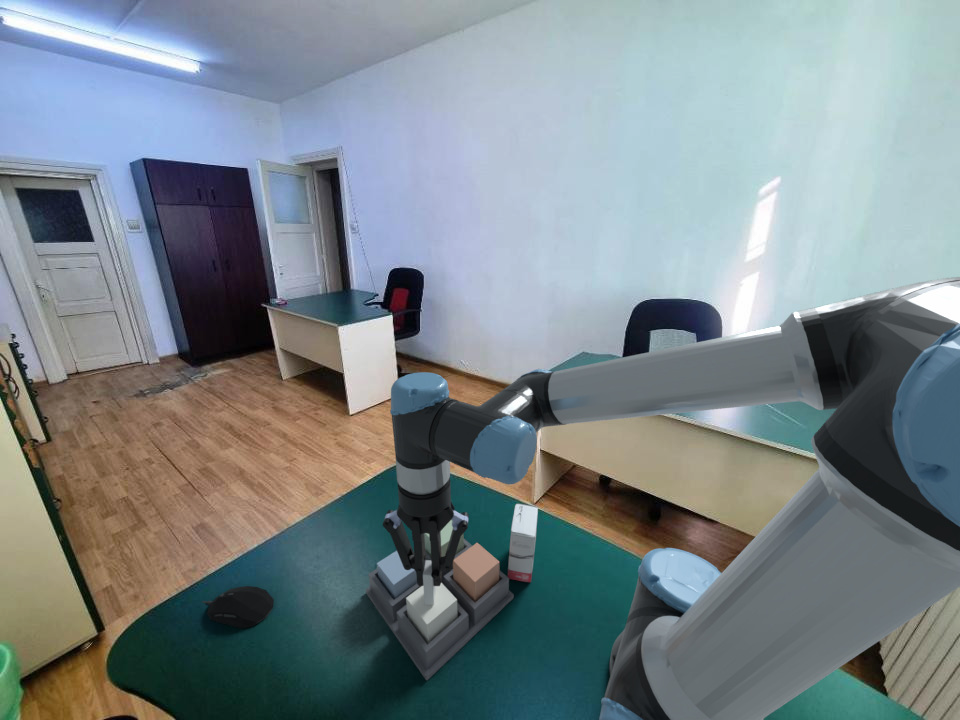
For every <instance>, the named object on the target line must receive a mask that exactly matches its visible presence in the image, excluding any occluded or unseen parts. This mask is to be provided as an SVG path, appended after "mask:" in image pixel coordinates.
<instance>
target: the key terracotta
mask: <svg viewBox="0 0 960 720" xmlns="http://www.w3.org/2000/svg"><path fill="white" fill-rule="evenodd" d="M499 570H500V561H499V560H498V559H497V558H496V557H494V555H492V554H491V553H490V552H489V551H487V550H486V549H485V547H483V546H482V545H481V544H479V543H478V542H476V543H475V544H473V545H472V547H470V548H469V549H468V550H466V551H465V552H464V553H462V554H461V555H460V556H458V557H457V558H455V559H454V561H453V579H454V582H455V583H456V584H457V585H458V586H459V587H460V588H461V589H462V590H463V591H464V592H465V593H466V594H467V595H468V596H469V597H470V598H471V599H472V600H473V601H474V602H476V601H478V600H479V599H480V598H481V597H482V596H483V595H484V594H486V593H487V592H488V591H489V590H490V589H491V588H492V587H494V586H495V585H496V584H497V583H498V582H499Z"/></svg>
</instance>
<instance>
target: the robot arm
mask: <svg viewBox="0 0 960 720" xmlns="http://www.w3.org/2000/svg"><path fill="white" fill-rule="evenodd" d="M450 392H451V391H450V390H449V384H448V381H447V380H446V379H445V378H443V376H441V375H439V374H437V373H433V372H428V371H427V372H425V371H422V372H413V373H409V374H406V375H404V376H401V377H399V378H397V379H396V380H395V381H394V382H393V383H392V385H391V389H390V412H389V413H390V415H391V420H392V421H391V422H392V423H391V424H392V433H393V442H394V454H395V455H394V456H395V468H396V481H397V489H398V490H397V491H398V492H397V493H398V503H399V504H398V507H397V509H396V510H392V509H388V510H387V512H386V514H385V516H384V519H383V522H382V527H383V528H384V529H385V530H386V531H387V532H388V533H389V534H390V537H391V539H392V542H393V545H394V547H395V549H396V550H395V551H397V552H398V555H399V557H400V560H401V562H402V565H403V567H404V569H405V570H410V569H414V570H415V571H416V575H417V584H418V586H424V602H425V605H434V600H435V594H436V586H440V584H441V579H442V570H445V571H450V570H451V568H452V564H453V561H454V557H455V554H456V551H457V547H458V544H459V541H460V537H461V535H462V534H463V533H464V534H465V532H466V531H467V529H468V528H469V518H470V517H469V516H470V515H469V513H468V512H466V511H463V512H460V513H459V512H458V511H456V509H455V506H454V504H453V502H452V494H451V493H452V490H451V489H452V488H451V463H452V464H454V465H456V466H458V467H461V468H462V469H465V470H467V471H470V472H471V473H473V474H475V475H477V476H479V477H481V478H483V479H489V480H490V479H491V480H493V481H496V482H499V483H502V484H505V485H510V486H511V485H514V484H518V483H519V482H520V481H523V479H524V477H526V475H527V474H528V472H529V469H530V466H532V463H533V461H534V458H535V454H536V451H537V442H538V438H537V433H538V432H539V431H540V430H541V429H543V428H546V427H547V428H548V427H555V426H565V425H573V424H581V423H590V422H591V423H593V422H600V421H601V422H602V421H611V420H624V419H631V418H632V419H633V418H640V417H641V418H643V417H653V416H663V415H671V414H681V413H682V414H683V413H691V412H702V411H713V410H722V409H733V408H741V407H742V408H743V407H751V406H763V405H771V404H772V405H773V404H781V403H782V404H784V403H793V402H801V403H805V404H806V405H808V406H810V407H812V408H814V409H816V410H818V411H824V410H834V411H833V412H832V414H830V416H829V417H828V418H827V419H826V420H825V422H824V423H823V424H822V425H821V426H820V428H819V429H818V430H817V431H816V432H815V433H814V435H813V436H812V438H811V439H810V440H811V441H810V443H811V444H810V445H811V447H812V450H813V453H814V456H815V458H816V461H817V463H818V469H817V470H816V471H815V472H813V474H812V475H811V476H810V478H809V479H808V480H807V481H806V482H805V483H804V485H802V486H801V487H800V489H799V490H798V491H797V492H795V494H794V495H793V496H792V497H791V498H790V499H789V500H788V501H787V502H786V503H785V505H784V506H783V507H782V508H781V509H780V510H779V511H778V512H777V513H776V514H775V515H774V516H773V518H771V519H770V520H769V522H768V523H767V524H766V525H765V526H764V527H763V528H762V529H761V530H760V531H759V532H758V533H757V535H756V536H755V537H754V538H753V539H752V540H751V541H750V542H749V543H748V544H747V546H745V547H744V549H742V551H740V553H739V554H738V555H737V556H735V558H734V559H733V560H732V561H731V562H730V563H729V565H728V566H727V567H726V568H725V569H723V571H722V572H721V571H720V570H719V568H717V567H716V566H715V565H713V564H712V563H711V562H710V561H708V560H706V559H704V558H702V557H701V556H698V555H696V554H694V553H691V552H690V551H686V550H684V549H683V550H682V549H679V548H676V547H675V548H673V547H665V548H661V547H660V548H655V549H652V550H650V551H647V553H646V554H645V555H644V556H643V558H642V559H641V564H640V565H639V566H638V570H637V573H638V578H637V582H636V587H635V590H634V594H633V599H632V602H631V605H630V608H629V612H628V616H627V620H626V623H625V626H624V629H623V630H622V632H621V633H619V635H617V637H616V639H615V640H614V642H613V644H612V648H611V653H610V658H609V659H610V660H609V676H610V677H609V680H608V683H607V687H606V690H605V694H604V697H602V698H601V702H600V703H601V708H600V714H599V719H598V720H765V718H766V717H768V716H769V715H771V714H772V713H774V712H775V711H776V710H779V709H780V708H781V707H783V706H784V705H786V704H787V703H788V702H790V701H792V700H793V699H795V698H796V697H797V696H799V695H800V694H802V693H803V692H805V691H806V690H808V689H809V688H811V687H813V686H814V685H816V684H817V683H819V682H820V681H822V680H823V679H824V678H826V677H827V676H829V675H831V674H832V673H833V672H835V671H836V670H838V669H839V668H841V667H843V666H845V664H847V663H849V662H850V661H851V660H853V659H854V658H856V657H857V656H859V655H860V654H862V653H863V652H865V651H866V650H868V649H869V648H871V647H873V646H874V645H876V644H877V643H879V641H881V640H882V639H884V638H886V637H887V636H889V635H890V634H892V633H893V632H895V631H896V630H898V629H899V628H900V627H903V625H905V624H906V623H908V622H909V621H911V620H913V619H914V618H915V617H917V616H918V615H920V614H922V613H923V612H925V611H926V610H927V609H929V608H930V607H932V606H934V604H937V603H938V602H939V601H941V600H942V599H944V598H945V597H947V596H948V595H950V594H951V593H952V592H954V591H956V590H958V589H959V588H960V276H955V277H954V276H953V277H945V278H944V277H943V278H940V279H939V278H937V279H933V280H926V281H920V282H915V283H911V284H905V285H902V286H898V287H895V288H891V289H890V288H889V289H886V290H880V291H877V292H873V293H869V294H865V295H860V296H857V297H852V298H848V299H844V300H841V301H835V302H831V303H827V304H824V305H820V306H815V307H811V308H806V309H802V310H796V311H793V312H791V313H790V314H789V315H788V317H787V318H786V319H785V320H784V321H783V322H782V323H781V324H779V325H776V326H772V327H767V328H762V329H757V330H752V331H747V332H741V333H735V334H733V335H732V334H731V335H728V336H727V335H726V336H721V337H717V338H712V339H708V340H702V341H698V342H693V343H688V344H683V345H677V346H673V347H668V348H662V349H659V350H653V351H648V352H644V353H639V354H634V355H633V354H632V355H629V356H624V357H623V356H622V357H620V358H614V359H609V360H605V361H600V362H599V361H598V362H595V363H590V364H585V365H579V366H574V367H570V368H565V369H560V370H555V371H550V370H548V369H543V368H538V369H533V370H531V371H529V372H526V373H524V374H522V375H521V376H520V377H518V378H517V379H516V380H514V381H513V382H512V383H510V384H508V386H506V387H505V388H504V389H502V390H500V391H499V392H498V393H496V394H495V395H494V396H492V397H491V398H489V399H487V400H486V401H484V402H483V403H481V405H473V404H471V403H468V402H467V403H466V402H464V401H460V400H457V399H455V398H451V397H450ZM450 520H452V527H453V530H452V533H451V537H450V540H449V544H448V547H447V551H446V554H445V556H443V557H442V554H441V530H442V529H443V528H444V527H445V526H446V525H447V524H448V523H449V522H450ZM404 525H405V526H407V528H408V529H410V531H411V539H412V541H413V547H412V545H411V541H410V539H409V536H408V534H407V532H406V528H405V526H404ZM424 533H427V534H429V539H430V544H431V560H426V562H425V559H426V554H425V536H424Z"/></svg>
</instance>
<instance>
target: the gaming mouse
mask: <svg viewBox="0 0 960 720" xmlns="http://www.w3.org/2000/svg"><path fill="white" fill-rule="evenodd" d="M201 603H204V604H206V605H209V606H208V609H207V611H206V612H207V613H206V614H207V616H208V618H209V619H210V621H213V622H216V623H218V624H222V625H228V626H231V627H233V628H238V629H246V628H252V627H254V626H256V625H257V624H258V623H260V622H262V621H263V620H264V619H266V618H267V617H268V616H269V614H270V613H271V612H272V611H273V608H274V603H275V599H274V598H273V596H272V595H271V594H270V592H268V591H267V590H266V589H263V588H261V587H259V586H258V587H257V586H249V585H245V586H237V587H233V588H229V589H227V590H226V591H224V592H222V593H221V594H220V595H218V596H217V597H215V598H214V599H213V600H208V601H205V600H204V601H202V600H201Z"/></svg>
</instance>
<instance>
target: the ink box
mask: <svg viewBox="0 0 960 720" xmlns="http://www.w3.org/2000/svg"><path fill="white" fill-rule="evenodd" d="M538 512H539V507H538V506H533V505H531V504H524V503H516V504H515V505H514V511H513V516H512V522H511V527H510V541H509V552H508V554H509V555H508V563H507V564H508V566H507V577H508V578H509V580H514V581H519V582H525V583H532V577H533V575H532V574H533V569H534V559H535V550H536V541H537V525H538V515H539V514H538Z"/></svg>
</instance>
